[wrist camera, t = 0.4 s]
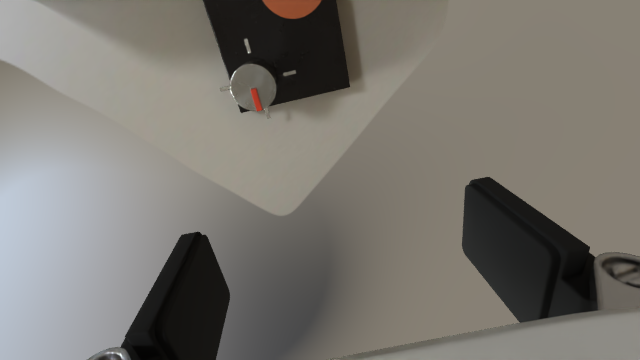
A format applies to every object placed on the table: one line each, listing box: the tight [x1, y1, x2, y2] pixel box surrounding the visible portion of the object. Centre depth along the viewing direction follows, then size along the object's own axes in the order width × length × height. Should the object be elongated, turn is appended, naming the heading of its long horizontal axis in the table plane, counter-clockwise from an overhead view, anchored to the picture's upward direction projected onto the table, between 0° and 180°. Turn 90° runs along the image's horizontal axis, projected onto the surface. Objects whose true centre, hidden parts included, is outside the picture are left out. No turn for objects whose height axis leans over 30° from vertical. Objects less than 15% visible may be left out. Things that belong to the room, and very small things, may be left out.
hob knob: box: [230, 60, 278, 111], centre depth 31 cm, size 4×4×5 cm
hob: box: [203, 0, 350, 118], centre depth 32 cm, size 17×14×3 cm
